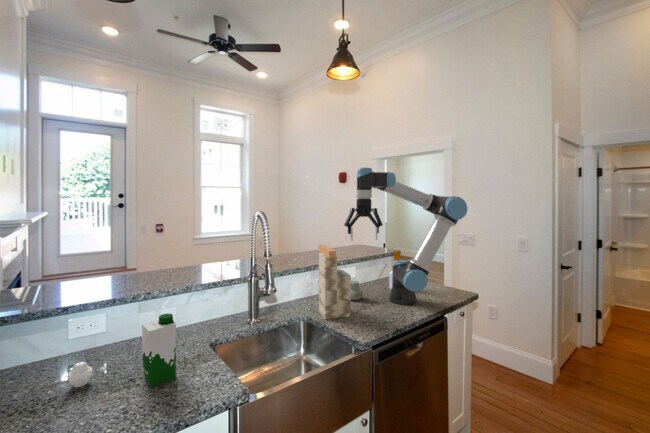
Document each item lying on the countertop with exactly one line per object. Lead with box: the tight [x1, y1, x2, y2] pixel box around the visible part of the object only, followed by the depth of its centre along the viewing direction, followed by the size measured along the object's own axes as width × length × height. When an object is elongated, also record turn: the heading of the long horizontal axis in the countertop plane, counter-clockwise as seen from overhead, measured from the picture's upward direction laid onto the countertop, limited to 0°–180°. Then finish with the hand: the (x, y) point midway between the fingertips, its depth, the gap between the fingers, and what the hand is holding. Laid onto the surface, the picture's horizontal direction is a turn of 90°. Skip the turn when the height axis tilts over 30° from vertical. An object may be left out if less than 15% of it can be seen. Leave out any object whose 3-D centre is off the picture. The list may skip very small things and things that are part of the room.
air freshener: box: [351, 280, 364, 301], centre depth 178 cm, size 11×8×10 cm
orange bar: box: [317, 243, 337, 258], centre depth 156 cm, size 3×22×3 cm, turn 15°
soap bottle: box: [388, 250, 401, 290], centre depth 198 cm, size 9×9×25 cm
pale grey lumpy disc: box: [67, 361, 94, 388], centre depth 95 cm, size 6×6×7 cm
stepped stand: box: [318, 252, 352, 320], centre depth 155 cm, size 13×12×30 cm
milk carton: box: [141, 313, 177, 389], centre depth 98 cm, size 9×9×20 cm
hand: (363, 240), depth 158 cm, fingers open, 13 cm apart
